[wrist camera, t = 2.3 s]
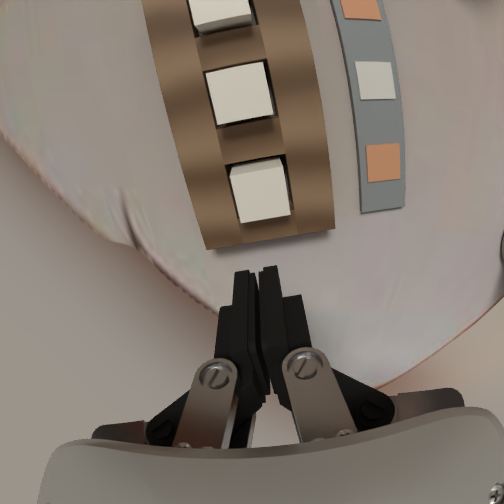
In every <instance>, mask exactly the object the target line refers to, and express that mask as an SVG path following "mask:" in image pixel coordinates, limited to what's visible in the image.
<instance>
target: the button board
mask: <svg viewBox="0 0 504 504" xmlns="http://www.w3.org/2000/svg"><path fill="white" fill-rule="evenodd" d="M142 4H143V10H144V15H145V20H146V25H147V30H148V34H149V39H150V44H151V48H152V53H153V57H154V62H155V66H156V70H157V75H158V79H159V83H160V87H161V91H162V95H163V99H164V103H165V107H166V111H167V115H168V119H169V123H170V127H171V130H172V134H173V138H174V142H175V145H176V149H177V152H178V156H179V160H180V163H181V167H182V170H183V174H184V177H185V181H186V184H187V188H188V191H189V194H190V198H191V201H192V204H193V208H194V211H195V214H196V218H197V221H198V224H199V227H200V231H201V234H202V237H203V240H204V243H205V246H206V250H210V249H216V248H222V247H228V246H234V245H240V244H246V243H251V242H257V241H263V240H269V239H275V238H281V237H287V236H293V235H299V234H305V233H312V232H318V231H324V230H330V229H335V217H334V203H333V192H332V181H331V171H330V162H329V153H328V145H327V137H326V130H325V123H324V116H323V110H322V103H321V97H320V91H319V86H318V80H317V75H316V70H315V65H314V60H313V55H312V50H311V46H310V41H309V37H308V32H307V28H306V24H305V20H304V16H303V12H302V8H301V5H300V1H299V0H251V4H252V8H253V12H254V16H255V20H256V24H257V25H254V26H248V27H242V28H237V29H232V30H227V31H222V32H218V33H213V34H209V35H205V36H201V37H199V32H198V29H197V28H196V27H195V25H194V21H193V17H192V12H191V8H190V4H189V0H142ZM259 62H263V63H266V67H267V72H268V77H269V81H270V86H271V91H272V96H273V101H274V106H275V111H276V115H274V116H268V117H262V118H256V119H251V120H246V121H241V122H236V123H231V124H226V125H222V126H220V125H218V124H217V120H216V116H215V112H214V107H213V103H212V99H211V94H210V90H209V86H208V82H207V77H206V73H210V72H214V71H218V70H223V69H227V68H232V67H237V66H242V65H247V64H253V63H259ZM280 154H283V155H284V161H285V167H286V173H287V179H288V185H289V192H290V197H289V198H288V201H289V207H290V214H291V215H286V216H280V217H274V218H268V219H263V220H257V221H251V222H246V223H241V221H240V217H239V213H238V209H237V205H236V200H235V196H234V192H233V188H232V184H231V179H230V173H231V170H230V166H229V164H231V163H236V162H241V161H246V160H251V159H257V158H262V157H268V156H274V155H280Z"/></svg>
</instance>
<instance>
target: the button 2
mask: <svg viewBox="0 0 504 504" xmlns="http://www.w3.org/2000/svg"><path fill="white" fill-rule="evenodd" d="M230 179H231V184H232V188H233V192H234V196H235V200H236V205H237V209H238V213H239V217H240V221H241V223H246V222H251V221H257V220H263V219H268V218H274V217H280V216H286V215H291V214H290V207H289V201H288V195H287V188H286V182H285V176H284V170H283V165H282V163H281V160H280V158H279V157H273V158H267V159H262V160H256V161H251V162H245V163H240V164H235V165H233V166H232V170H231V173H230Z"/></svg>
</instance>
